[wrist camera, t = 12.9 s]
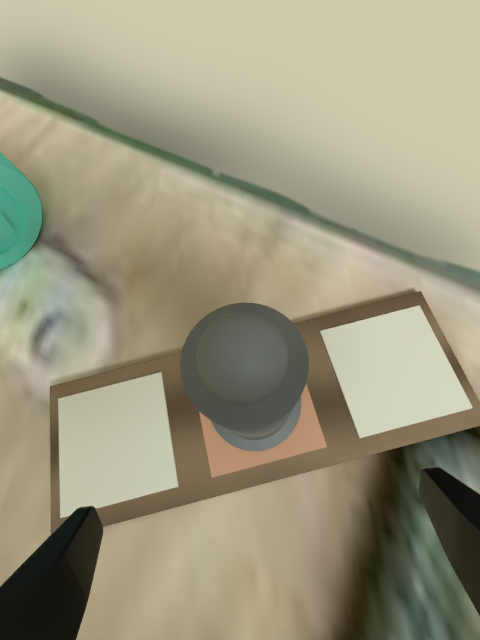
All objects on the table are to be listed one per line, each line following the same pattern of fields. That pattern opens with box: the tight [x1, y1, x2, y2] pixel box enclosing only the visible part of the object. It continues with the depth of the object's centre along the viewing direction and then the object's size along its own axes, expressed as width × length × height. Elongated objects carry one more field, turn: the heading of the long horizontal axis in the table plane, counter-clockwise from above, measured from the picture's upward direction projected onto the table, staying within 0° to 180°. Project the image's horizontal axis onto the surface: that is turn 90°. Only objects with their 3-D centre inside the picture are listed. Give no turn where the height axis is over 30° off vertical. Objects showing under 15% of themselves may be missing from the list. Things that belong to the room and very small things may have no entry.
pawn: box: [180, 303, 309, 451], centre depth 15 cm, size 6×6×12 cm
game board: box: [50, 291, 480, 534], centre depth 20 cm, size 9×26×1 cm, turn 104°
